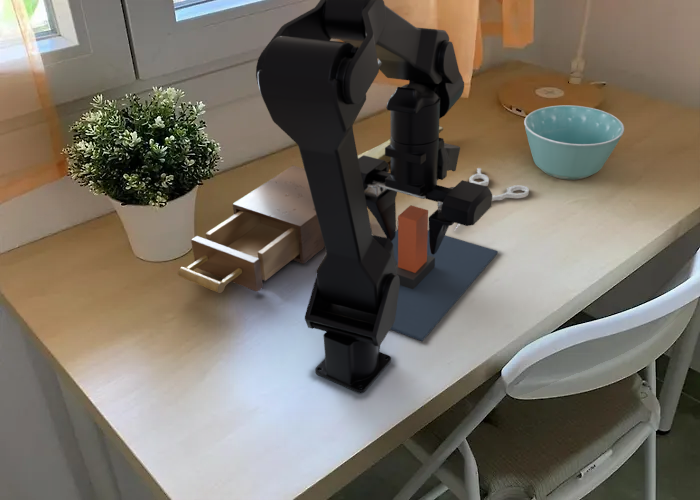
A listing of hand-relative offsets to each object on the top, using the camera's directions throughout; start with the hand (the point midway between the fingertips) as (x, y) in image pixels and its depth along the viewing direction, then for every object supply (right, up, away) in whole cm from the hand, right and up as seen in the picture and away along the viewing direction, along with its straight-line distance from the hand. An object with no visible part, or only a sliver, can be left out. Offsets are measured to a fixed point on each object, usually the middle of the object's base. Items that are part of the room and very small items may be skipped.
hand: (412, 246), depth 92 cm
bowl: (+29, +13, +28) cm, 42 cm away
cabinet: (-16, +3, +14) cm, 21 cm away
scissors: (+12, +7, +18) cm, 23 cm away
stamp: (0, -4, +3) cm, 4 cm away
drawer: (-22, -2, +5) cm, 23 cm away
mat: (0, -4, +3) cm, 5 cm away
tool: (-1, +15, +33) cm, 36 cm away
